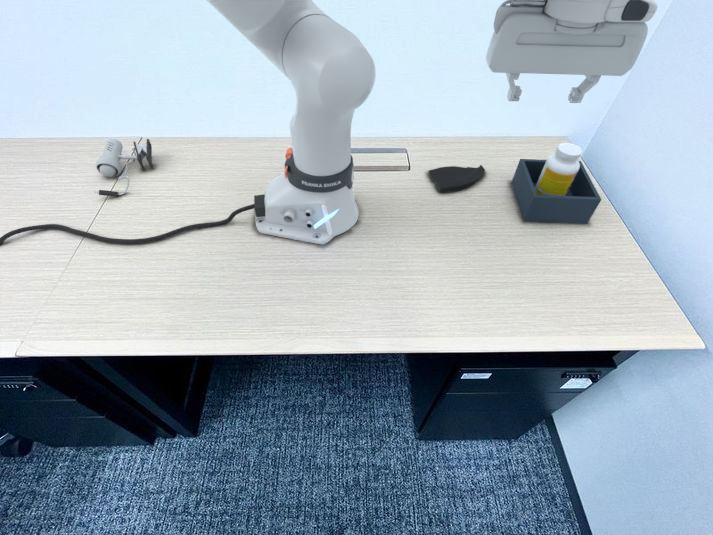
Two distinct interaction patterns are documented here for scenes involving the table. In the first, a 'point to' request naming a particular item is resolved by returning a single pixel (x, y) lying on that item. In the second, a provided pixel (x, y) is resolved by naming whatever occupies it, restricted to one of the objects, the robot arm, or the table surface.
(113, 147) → the clip-on lamp
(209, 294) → the table surface
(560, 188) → the supplement bottle
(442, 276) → the table surface
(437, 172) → the curved wedge
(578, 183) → the tub
